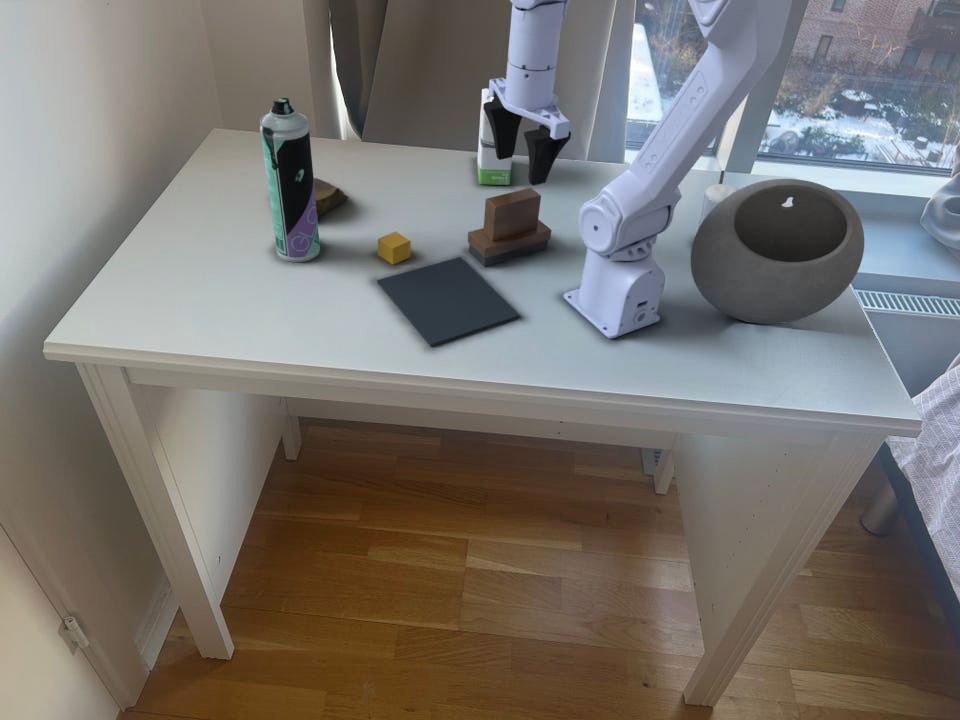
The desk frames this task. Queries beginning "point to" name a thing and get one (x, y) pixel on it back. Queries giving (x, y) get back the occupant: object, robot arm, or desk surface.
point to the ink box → (490, 152)
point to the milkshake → (715, 196)
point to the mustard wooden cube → (394, 247)
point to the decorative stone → (327, 196)
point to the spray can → (290, 182)
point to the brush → (509, 228)
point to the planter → (777, 251)
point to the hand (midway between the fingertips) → (520, 170)
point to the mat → (447, 300)
